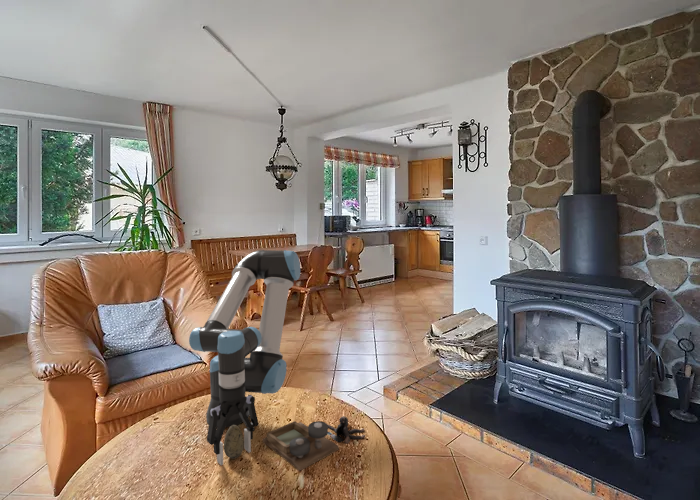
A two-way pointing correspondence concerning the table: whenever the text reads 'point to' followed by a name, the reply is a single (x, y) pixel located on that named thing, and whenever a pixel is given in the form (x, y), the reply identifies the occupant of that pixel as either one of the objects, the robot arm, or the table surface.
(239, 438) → the decorative egg
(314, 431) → the wheel
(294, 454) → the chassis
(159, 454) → the table surface
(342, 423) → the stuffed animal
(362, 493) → the table surface
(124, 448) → the table surface
